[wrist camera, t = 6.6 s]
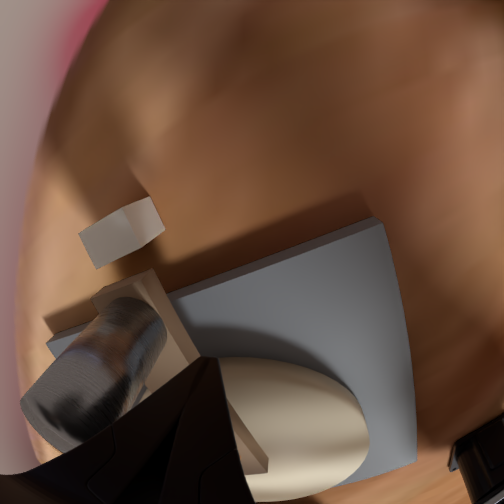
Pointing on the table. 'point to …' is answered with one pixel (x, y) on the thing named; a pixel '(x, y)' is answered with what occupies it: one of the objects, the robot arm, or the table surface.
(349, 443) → the dial
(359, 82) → the table surface
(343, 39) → the table surface
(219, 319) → the base plate
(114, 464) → the robot arm
